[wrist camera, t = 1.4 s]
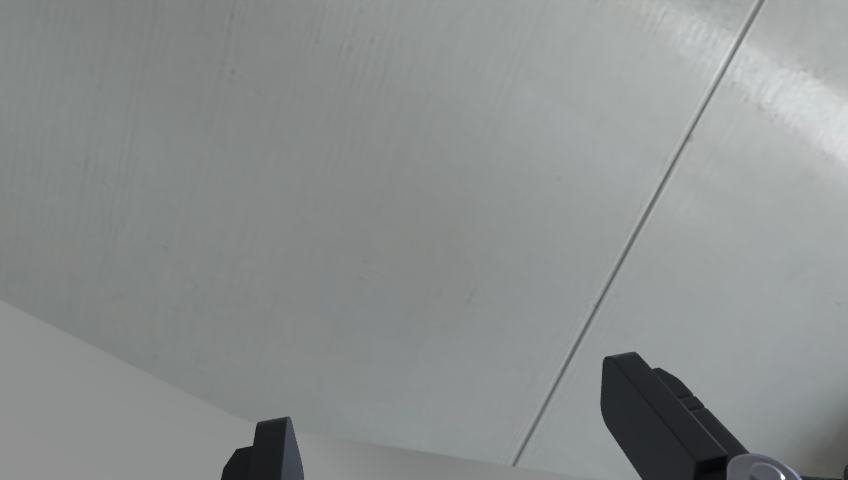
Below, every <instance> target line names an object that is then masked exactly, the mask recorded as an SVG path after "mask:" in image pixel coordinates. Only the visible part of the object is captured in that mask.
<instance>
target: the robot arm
mask: <svg viewBox="0 0 848 480" xmlns="http://www.w3.org/2000/svg"><path fill="white" fill-rule="evenodd" d="M600 404H601V412H602V416H603V419H604V422H605V424H606V426H607V428H608V429H609V431H610V432H611V434H612V435H613V437H614V438H615V440H616V441H617V443H618V444H619V446H620V447H621V449H622V450H623V452H624V453H625V455H626V456H627V458H628V459H629V461H630V462H631V463H632V465H633V466H634V468H635V469H636V471H637V472H638V474H639V475H640V477H641V478H642V480H848V465H847V466H846V468H845V470H844V473H843V476H842V479H833V478H819V477H806V476H798V474H797V473H796V472H795V471H793V470H792V469H791V468H790V467H788V466H787V465H785V464H784V463H782V462H780V461H778V460H776V459H773V458H771V457H768V456H765V455H760V454H752V453H749V452H748V451H747V450H746V449H745V448H744V446H743V445H742V444H741V443H740V442H739V441H738V440H737V439H736V438H735V437H734V436H733V435H732V434H731V433H730V432H729V431H728V430H727V429H726V428H725V427H724V426H723V425H722V423H721V422H720V421H719V420H718V419H717V418H716V417H715V416H714V415H713V414H712V413H711V412H710V411H709V410H708V409H707V408H706V409H705V407H704V405H703V404H702V403H701V402H700V400H699V399H698V398H697V397H696V396H693V393H692V392H691V391H690V390H689V389H688V388H687V387H686V386H685V385H684V384H683V383H682V382H681V381H680V380H679V379H678V378H676V377H675V376H673V375H671V374H669V373H668V372H666V371H664V370H662V369H661V368H655V369H651V368H650V367H649V366H648V364H647V363H646V362H645V361H644V360H643V359H642V358H641V357H640V356H639V355H638V354H637V353H636V352H629V353H623V354H618V355H613V356H607V357H605V358H604V360H603V368H602V385H601V403H600ZM221 480H304V473H303V467H302V462H301V457H300V453H299V449H298V445H297V441H296V437H295V433H294V429H293V425H292V421H291V419H290V417H289V416H288V417H283V418H278V419H272V420H267V421H261V422H258V423H257V425H256V431H255V437H254V443H253V446H250V447H245V448H240V449H236V451H235V452H234V454H233V455H232V457H231V458H230V459H229V461H228V462H227V464H226V465H225V467H224V469H223V474H222V477H221Z"/></svg>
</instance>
